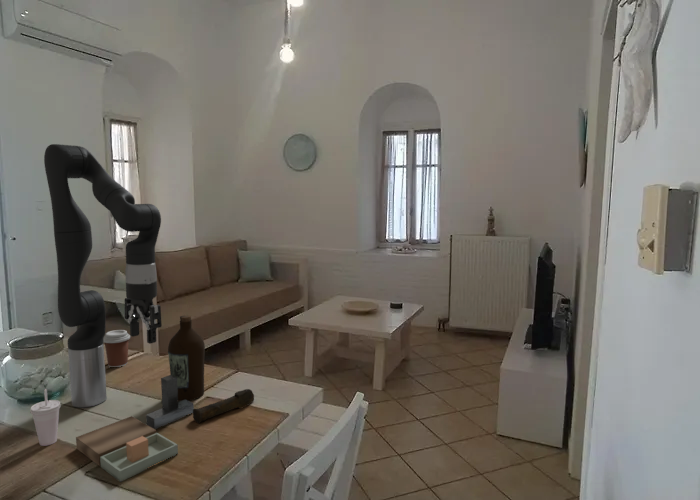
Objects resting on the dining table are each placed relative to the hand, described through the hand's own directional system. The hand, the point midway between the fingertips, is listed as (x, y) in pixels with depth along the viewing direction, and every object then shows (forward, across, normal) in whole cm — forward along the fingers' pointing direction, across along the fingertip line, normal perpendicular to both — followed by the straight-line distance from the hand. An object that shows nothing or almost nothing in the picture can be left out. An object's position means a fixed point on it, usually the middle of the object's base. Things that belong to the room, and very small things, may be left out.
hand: (143, 339), depth 128 cm
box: (+23, +17, -11) cm, 31 cm away
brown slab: (+23, +6, -11) cm, 26 cm away
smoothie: (+24, -9, -21) cm, 33 cm away
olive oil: (+24, -6, +17) cm, 30 cm away
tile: (+21, +15, -11) cm, 28 cm away
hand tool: (+23, +12, +17) cm, 31 cm away
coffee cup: (+24, -48, +16) cm, 56 cm away
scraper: (+23, +4, +5) cm, 24 cm away
